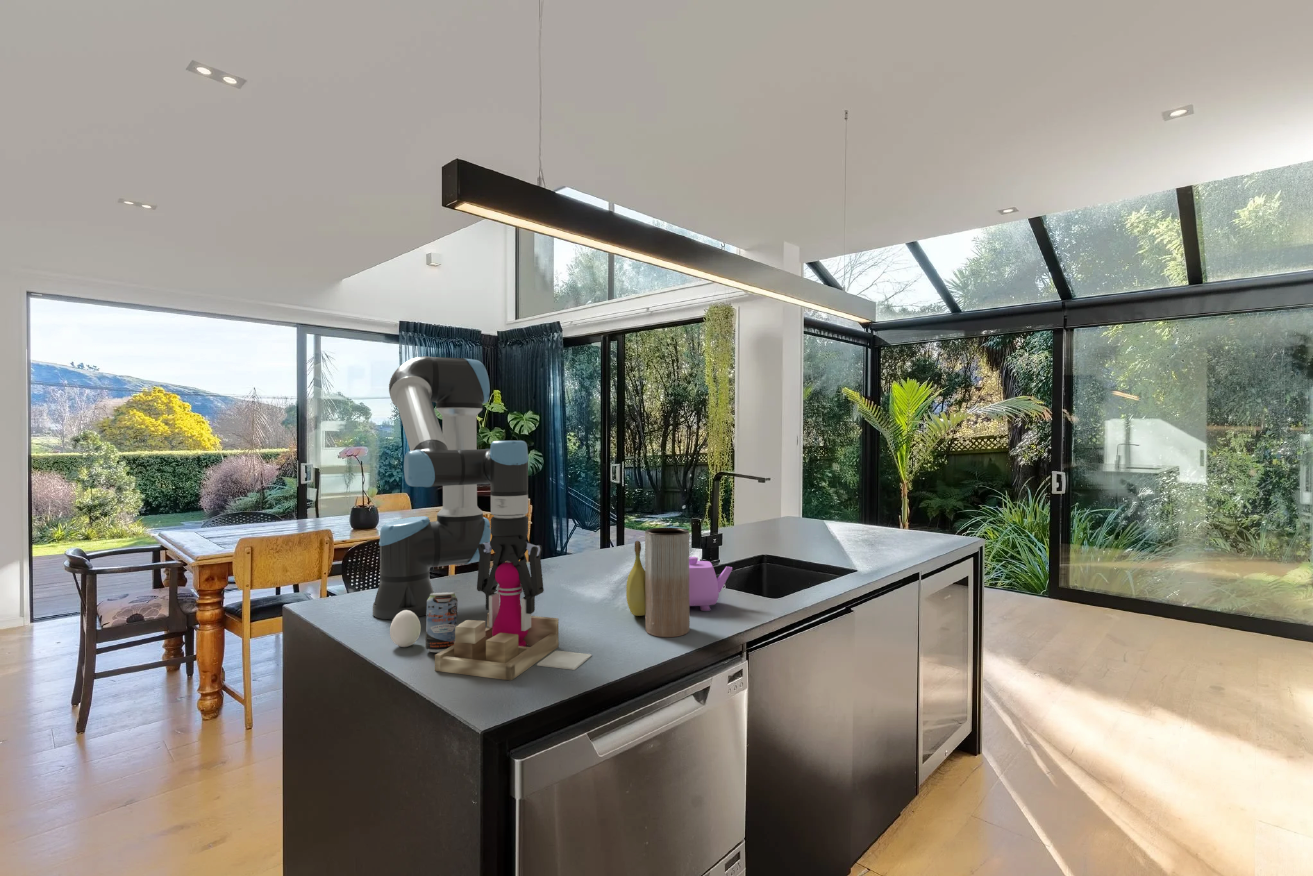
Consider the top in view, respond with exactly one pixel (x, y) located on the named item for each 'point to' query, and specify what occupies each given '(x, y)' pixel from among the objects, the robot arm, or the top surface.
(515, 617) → the pepper mill
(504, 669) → the tray
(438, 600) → the beverage can
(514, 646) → the block
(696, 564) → the teapot
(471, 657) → the block
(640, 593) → the banana
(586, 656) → the mat
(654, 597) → the planter
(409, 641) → the egg
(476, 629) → the block
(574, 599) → the top surface
